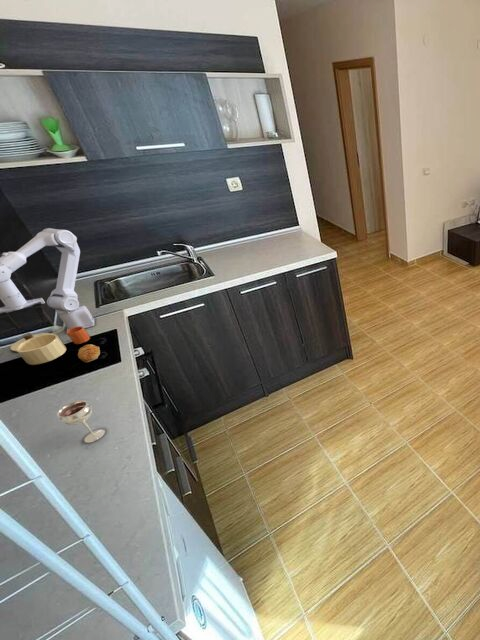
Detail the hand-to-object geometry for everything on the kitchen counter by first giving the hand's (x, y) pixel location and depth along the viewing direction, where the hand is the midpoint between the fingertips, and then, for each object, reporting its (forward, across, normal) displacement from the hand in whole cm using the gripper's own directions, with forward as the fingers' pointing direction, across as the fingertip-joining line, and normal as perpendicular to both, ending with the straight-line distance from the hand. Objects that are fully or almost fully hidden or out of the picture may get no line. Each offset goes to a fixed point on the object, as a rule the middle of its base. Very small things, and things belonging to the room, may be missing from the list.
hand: (31, 324), depth 142 cm
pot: (+10, -1, -12) cm, 15 cm away
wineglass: (+10, +4, -78) cm, 79 cm away
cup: (+10, +11, -9) cm, 17 cm away
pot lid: (+9, -4, +4) cm, 10 cm away
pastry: (+10, +12, -26) cm, 31 cm away
